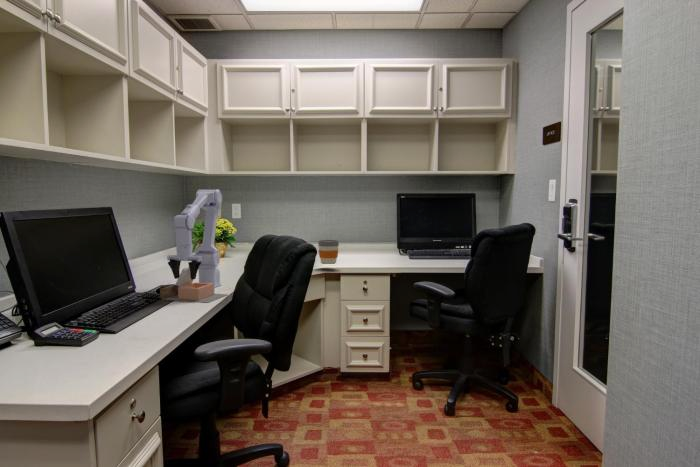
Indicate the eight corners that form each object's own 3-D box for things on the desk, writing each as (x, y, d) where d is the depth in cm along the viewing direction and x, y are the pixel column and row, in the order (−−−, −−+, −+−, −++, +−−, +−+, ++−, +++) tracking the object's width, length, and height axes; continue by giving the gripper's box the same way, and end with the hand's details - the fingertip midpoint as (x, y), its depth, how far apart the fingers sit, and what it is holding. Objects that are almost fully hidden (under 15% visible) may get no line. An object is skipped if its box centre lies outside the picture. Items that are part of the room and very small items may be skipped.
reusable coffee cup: (332, 263, 257) (332, 239, 256) (342, 265, 246) (342, 241, 245) (314, 264, 250) (314, 240, 249) (324, 267, 240) (324, 242, 239)
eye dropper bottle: (180, 280, 169) (192, 257, 166) (190, 288, 168) (203, 265, 165) (173, 283, 165) (185, 259, 162) (184, 291, 164) (196, 267, 161)
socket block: (195, 293, 168) (194, 282, 168) (214, 294, 166) (214, 283, 166) (178, 298, 158) (178, 287, 158) (198, 300, 156) (198, 288, 156)
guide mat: (177, 291, 172) (177, 291, 172) (228, 294, 167) (228, 294, 167) (153, 299, 159) (153, 298, 159) (208, 302, 153) (208, 302, 153)
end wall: (181, 291, 171) (181, 282, 171) (185, 292, 171) (185, 282, 171) (160, 298, 159) (160, 288, 158) (164, 298, 158) (164, 288, 158)
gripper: (161, 245, 160) (162, 279, 161) (193, 246, 156) (194, 281, 157) (173, 243, 167) (174, 276, 168) (204, 244, 163) (205, 278, 164)
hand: (185, 278), depth 163 cm, fingers open, 7 cm apart
